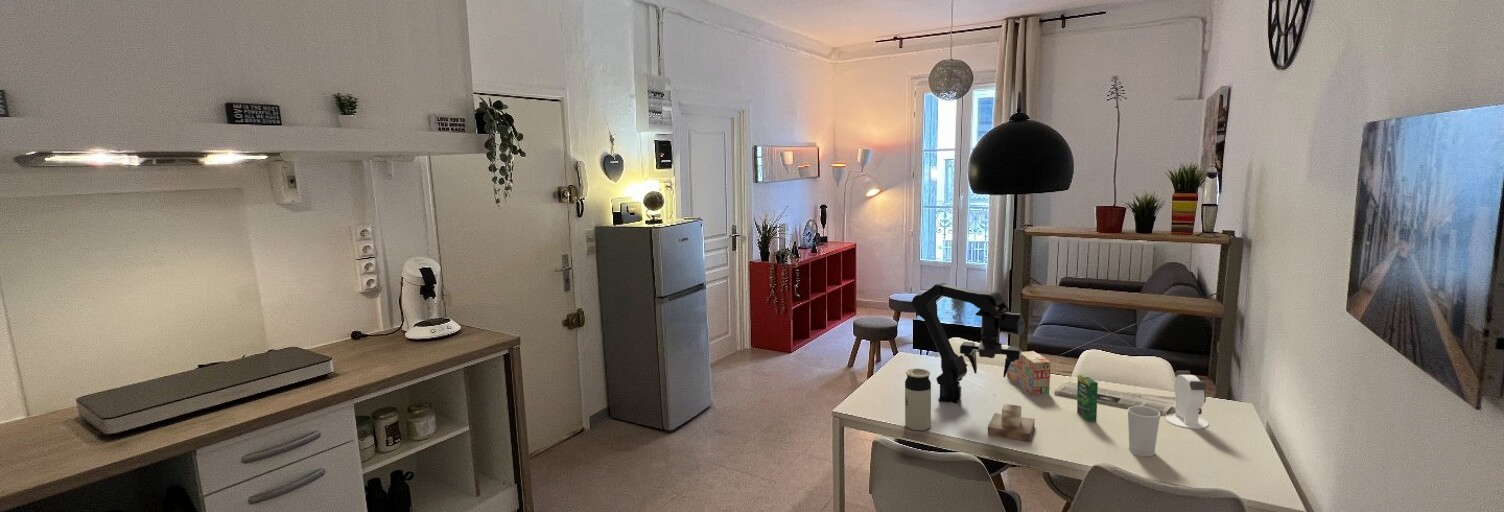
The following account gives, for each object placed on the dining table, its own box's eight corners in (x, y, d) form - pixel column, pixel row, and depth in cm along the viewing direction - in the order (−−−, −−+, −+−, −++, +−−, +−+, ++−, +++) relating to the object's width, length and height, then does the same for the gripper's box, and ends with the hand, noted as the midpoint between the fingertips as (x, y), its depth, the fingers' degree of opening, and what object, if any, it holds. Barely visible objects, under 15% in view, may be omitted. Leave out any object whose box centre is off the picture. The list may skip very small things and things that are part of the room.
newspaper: (1054, 396, 233) (1054, 386, 232) (1064, 385, 242) (1064, 376, 242) (1171, 418, 210) (1171, 408, 210) (1177, 406, 220) (1177, 396, 219)
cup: (1119, 446, 192) (1121, 407, 190) (1145, 444, 192) (1147, 405, 191) (1137, 458, 184) (1139, 417, 182) (1164, 456, 185) (1167, 415, 183)
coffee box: (1075, 412, 217) (1077, 374, 215) (1084, 412, 217) (1085, 374, 215) (1087, 422, 209) (1089, 383, 207) (1096, 422, 209) (1098, 382, 207)
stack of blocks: (1006, 375, 254) (1006, 344, 252) (1021, 374, 255) (1022, 343, 253) (1032, 395, 233) (1033, 362, 231) (1050, 394, 234) (1051, 361, 232)
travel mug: (931, 422, 214) (931, 368, 211) (929, 432, 206) (929, 377, 204) (906, 420, 216) (906, 367, 214) (903, 429, 209) (903, 375, 206)
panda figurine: (1216, 430, 200) (1220, 382, 197) (1176, 429, 202) (1179, 382, 199) (1197, 414, 211) (1200, 369, 209) (1158, 413, 213) (1161, 369, 211)
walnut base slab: (987, 434, 203) (987, 427, 202) (994, 420, 213) (994, 413, 213) (1029, 441, 197) (1029, 433, 197) (1034, 426, 207) (1034, 419, 207)
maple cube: (1001, 424, 204) (1001, 409, 203) (1004, 418, 208) (1004, 403, 207) (1018, 427, 201) (1019, 411, 201) (1021, 421, 206) (1021, 406, 205)
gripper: (956, 333, 216) (956, 379, 218) (1017, 339, 207) (1016, 386, 209) (963, 325, 225) (963, 368, 228) (1022, 330, 216) (1021, 375, 219)
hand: (989, 375), depth 220 cm, fingers open, 9 cm apart
